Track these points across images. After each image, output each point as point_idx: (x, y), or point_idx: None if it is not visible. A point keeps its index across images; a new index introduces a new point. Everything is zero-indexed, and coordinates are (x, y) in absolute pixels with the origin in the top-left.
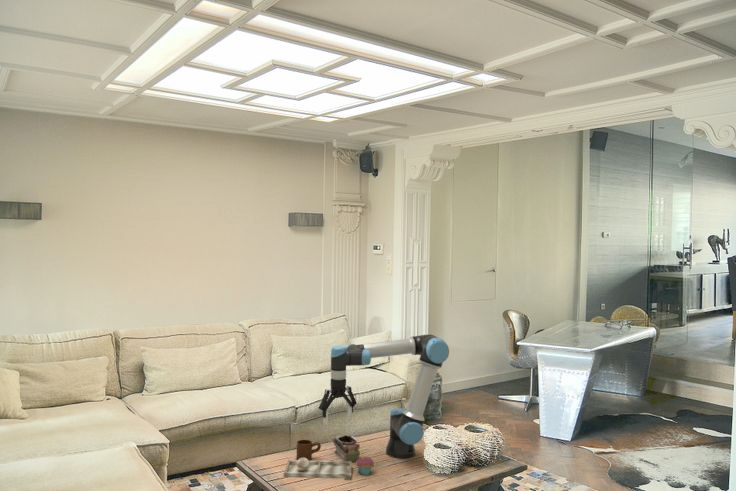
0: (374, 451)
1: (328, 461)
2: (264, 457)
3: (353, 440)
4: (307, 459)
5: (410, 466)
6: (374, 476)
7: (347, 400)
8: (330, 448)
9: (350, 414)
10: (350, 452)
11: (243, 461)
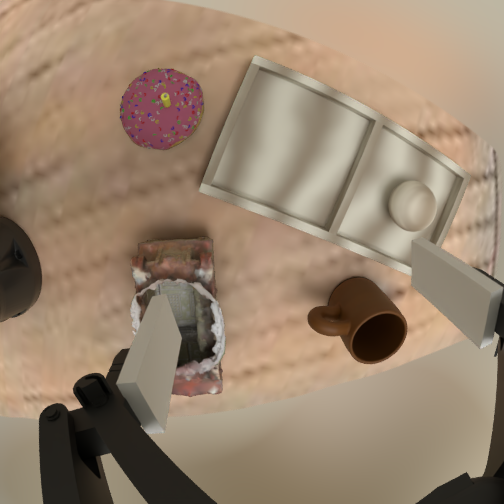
0: (74, 310)
1: (296, 224)
2: (435, 347)
3: None
4: (407, 206)
5: (3, 140)
6: (147, 67)
7: (178, 469)
8: None
9: (155, 324)
10: (182, 250)
11: None
